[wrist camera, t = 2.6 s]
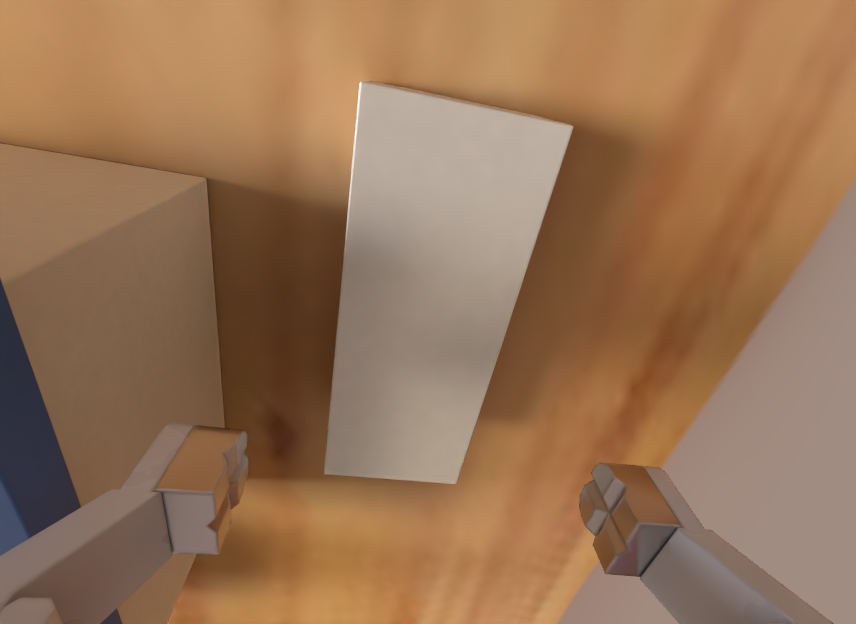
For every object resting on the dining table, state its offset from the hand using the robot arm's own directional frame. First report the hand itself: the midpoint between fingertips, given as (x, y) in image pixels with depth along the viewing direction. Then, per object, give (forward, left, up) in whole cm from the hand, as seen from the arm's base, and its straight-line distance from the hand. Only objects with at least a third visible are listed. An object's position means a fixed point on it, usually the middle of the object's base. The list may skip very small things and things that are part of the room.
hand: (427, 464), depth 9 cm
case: (0, 0, -9) cm, 9 cm away
